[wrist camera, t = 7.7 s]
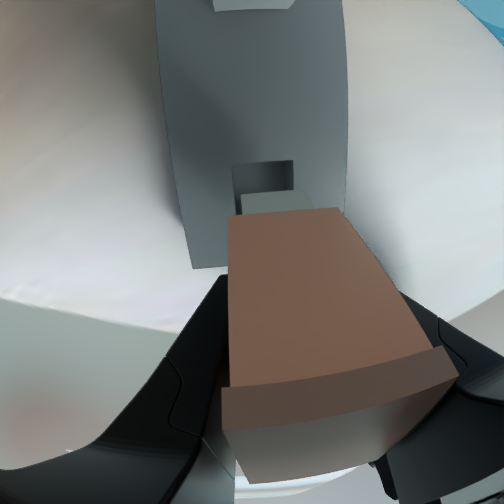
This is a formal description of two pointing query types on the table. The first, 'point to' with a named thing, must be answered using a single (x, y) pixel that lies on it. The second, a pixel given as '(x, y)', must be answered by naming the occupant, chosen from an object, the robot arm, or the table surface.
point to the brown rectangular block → (317, 345)
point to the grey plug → (250, 4)
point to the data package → (488, 14)
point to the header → (251, 109)
